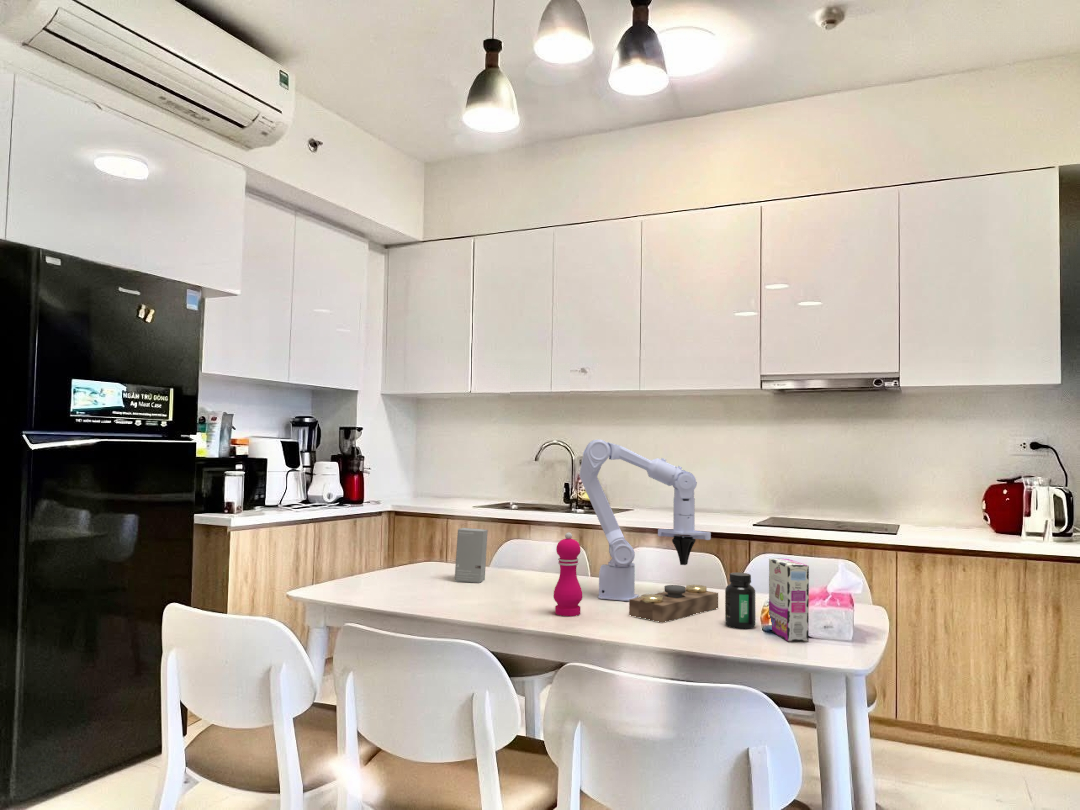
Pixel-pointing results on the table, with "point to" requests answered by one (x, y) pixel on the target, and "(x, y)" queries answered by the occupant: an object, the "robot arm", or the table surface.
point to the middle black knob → (674, 590)
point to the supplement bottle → (740, 602)
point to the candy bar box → (789, 599)
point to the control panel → (674, 606)
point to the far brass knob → (696, 589)
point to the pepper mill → (568, 578)
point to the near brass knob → (651, 598)
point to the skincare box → (471, 555)
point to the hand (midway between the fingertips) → (683, 564)
